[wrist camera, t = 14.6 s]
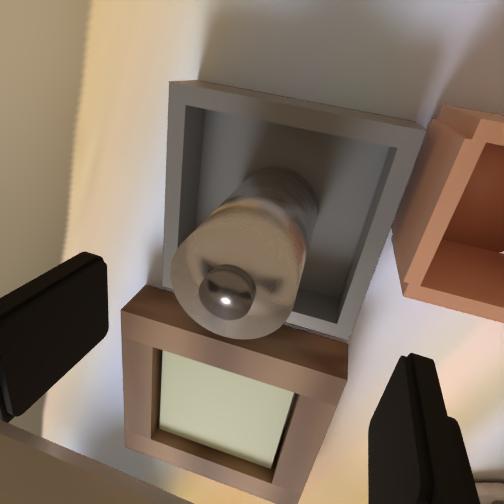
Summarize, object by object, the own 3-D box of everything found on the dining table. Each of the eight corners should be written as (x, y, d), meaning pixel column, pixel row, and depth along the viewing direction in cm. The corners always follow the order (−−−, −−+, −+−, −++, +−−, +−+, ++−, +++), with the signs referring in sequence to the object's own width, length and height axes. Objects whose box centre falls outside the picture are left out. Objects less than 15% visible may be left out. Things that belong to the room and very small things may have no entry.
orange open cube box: (597, 131, 15) (730, 164, 9) (517, 264, 18) (584, 344, 12) (435, 102, 16) (473, 117, 10) (386, 233, 19) (397, 294, 13)
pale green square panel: (298, 373, 23) (296, 385, 22) (273, 456, 27) (270, 468, 26) (169, 333, 24) (162, 343, 23) (165, 418, 29) (159, 428, 28)
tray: (415, 121, 16) (426, 130, 13) (349, 307, 21) (348, 340, 19) (196, 80, 18) (169, 81, 15) (184, 261, 23) (161, 285, 20)
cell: (327, 178, 18) (307, 257, 10) (306, 254, 20) (277, 366, 12) (242, 158, 18) (164, 219, 11) (231, 234, 20) (160, 328, 13)
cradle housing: (348, 344, 22) (347, 380, 20) (300, 471, 29) (294, 510, 26) (145, 284, 24) (120, 309, 22) (144, 415, 31) (125, 447, 29)
